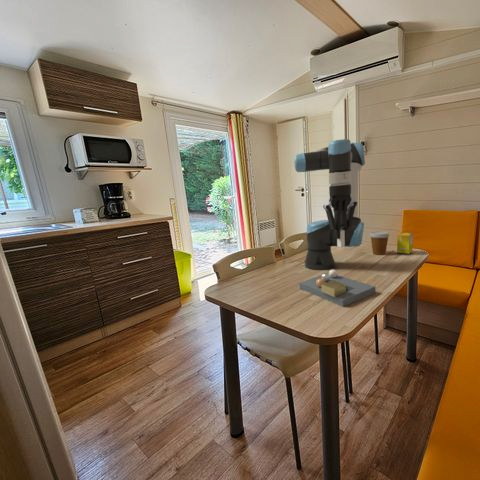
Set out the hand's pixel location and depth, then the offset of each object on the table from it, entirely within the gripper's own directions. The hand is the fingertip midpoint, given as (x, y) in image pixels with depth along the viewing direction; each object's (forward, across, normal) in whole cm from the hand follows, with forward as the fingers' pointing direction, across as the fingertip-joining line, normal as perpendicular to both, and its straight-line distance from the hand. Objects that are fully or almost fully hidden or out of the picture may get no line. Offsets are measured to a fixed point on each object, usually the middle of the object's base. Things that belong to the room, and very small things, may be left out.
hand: (340, 246), depth 101 cm
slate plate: (+18, -3, 0) cm, 18 cm away
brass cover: (+15, -7, -7) cm, 18 cm away
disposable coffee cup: (+19, +46, +36) cm, 61 cm away
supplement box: (+19, +57, +30) cm, 67 cm away
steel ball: (+14, -4, +5) cm, 15 cm away
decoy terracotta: (+14, -9, 0) cm, 16 cm away
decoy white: (+14, +1, +8) cm, 16 cm away
